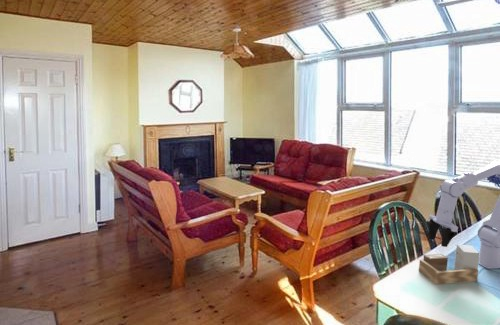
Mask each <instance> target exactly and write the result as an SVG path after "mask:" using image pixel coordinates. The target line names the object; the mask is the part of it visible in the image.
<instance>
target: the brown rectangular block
mask: <svg viewBox="0 0 500 325" xmlns="http://www.w3.org/2000/svg"><path fill="white" fill-rule="evenodd" d="M422 260H424V261H425V262H427V263H428V264H430V265H431V266H432V267H434V268H435V269H437V270H438V271H448V270H447V268H448V260H449V257H447V256H446V255H444V254H442V253H437V254H435V253H434V254H424V255H423V259H422Z"/></svg>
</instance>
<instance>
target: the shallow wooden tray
mask: <svg viewBox="0 0 500 325" xmlns="http://www.w3.org/2000/svg"><path fill="white" fill-rule="evenodd" d="M418 271H419V272H420V273H421V274H423V275H424V276H426V277H427V278H428V279H429V280H431V281H432V282H434V284H435V285H444V284H457V283H470V282H477V281H478V277H479V276H478V275H479V269H478V270H477V269H463V270H455V269H452V270H451V269H450V270H449V269H448V270H437V269H435V268H434V267H432V266H431V265H430V264H428V263H427V262H425V261H424V260H423V259H419V266H418Z"/></svg>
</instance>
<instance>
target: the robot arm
mask: <svg viewBox="0 0 500 325" xmlns="http://www.w3.org/2000/svg"><path fill="white" fill-rule="evenodd" d="M495 175H496V176H497V177H498V178H499V179H500V158H497V159H495V160H492V161H490V164H488V165H486V166H484V167H482V168H480V169H478V170H477V171H474V172H470V171H468V172H467V171H465V172H463V174H461V175H459V176H457V177H454V178H452V179H445V180H444V181H443V182H442V183H441V184H440V185H439V191H440V198H439V202H438V206H437V211H436V215H433V214H429V216H428V220H427V221H426V225H427V229H428V239H429V240H435V239H436V236H437V233H438V231H439V229H440V227H441V226H442V228H441V232H442V235H441V236H442V237H441V242H440V244H441V245H440V246H441V247H443V248H445V247H446V248H448V246H449V245H450V242H451V241H452V239H453V238H454V237H455V236H456V235H458V229H459V227H458V226H457V225H455V224H454V223H453V221H452V220H453V217H454V213H455V209H456V206H457V201H458V198H459V197H461V196H462V195H463V194H464V192H465V191H467V190H469V189H471V188H473V187H475V186H477V185H478V184H479V181H482V180H484V179H487V178H490V177H492V176H495ZM443 227H444V228H443ZM477 237H478V238H479V241H480V247H479V262H478V265H480V266H482V267H483V268H485V269H488V270H489V269H500V194H499V195H498V197H497V200H496V202H495V205H494V208H493V210H492V213H491V215H490V218H489V219H487V220H484V221H483V223H482V225H481V226H480V227H479V228H478V230H477Z"/></svg>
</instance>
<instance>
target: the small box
mask: <svg viewBox="0 0 500 325" xmlns="http://www.w3.org/2000/svg"><path fill="white" fill-rule="evenodd" d="M479 254H480V251H478V250H477V249H476V248H474V246H473V245H468V244H458V243H457V245H456V248H455V258H454V269H453V270H463V269H477V270H478V271H479V264H478V262H479Z"/></svg>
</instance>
